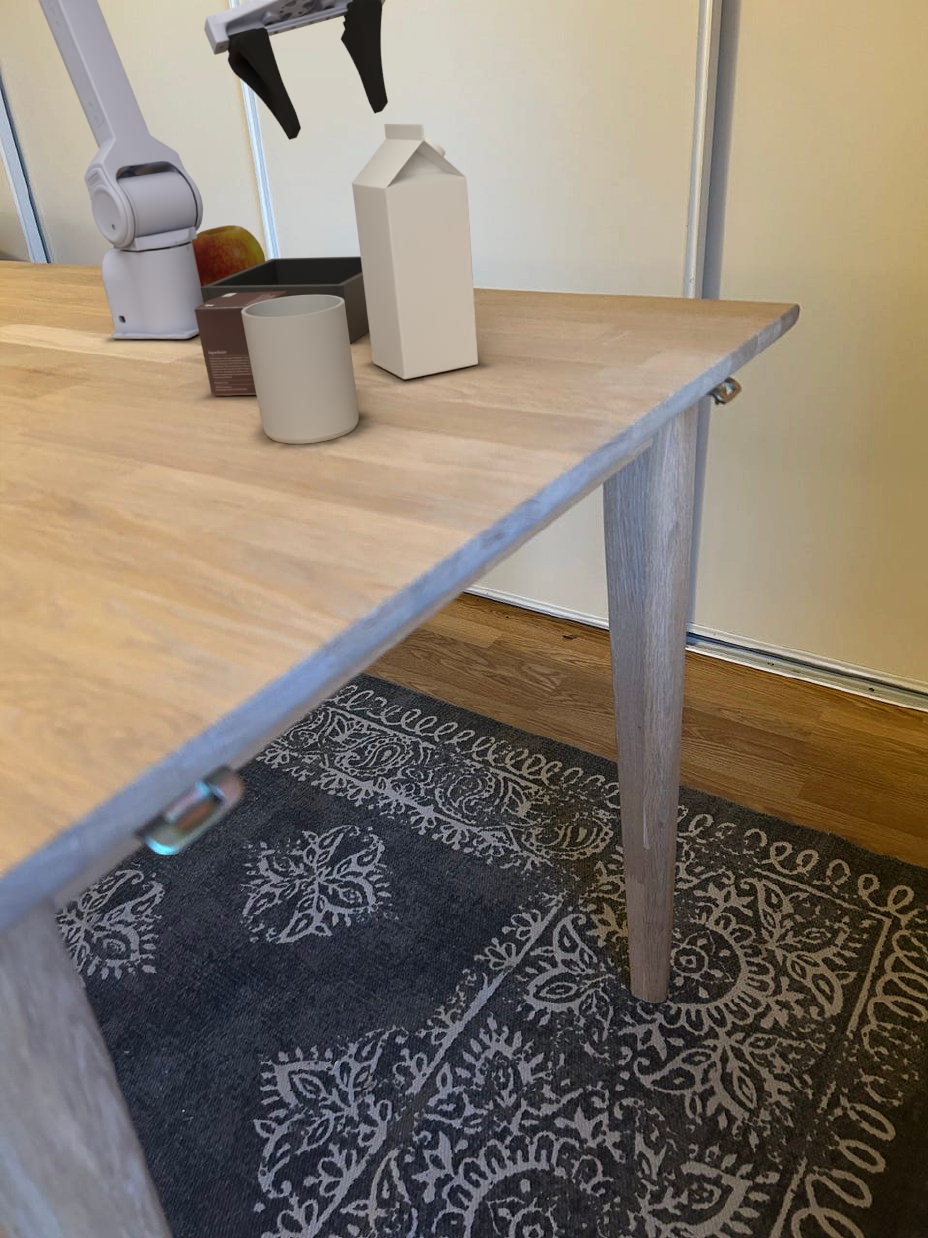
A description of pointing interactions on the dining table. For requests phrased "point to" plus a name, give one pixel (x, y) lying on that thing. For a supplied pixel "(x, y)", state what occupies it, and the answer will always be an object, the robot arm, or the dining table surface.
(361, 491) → the dining table surface
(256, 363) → the cup
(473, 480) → the dining table surface
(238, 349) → the box
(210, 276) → the fruit
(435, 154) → the milk carton
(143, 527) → the dining table surface
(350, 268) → the dark grey square container
